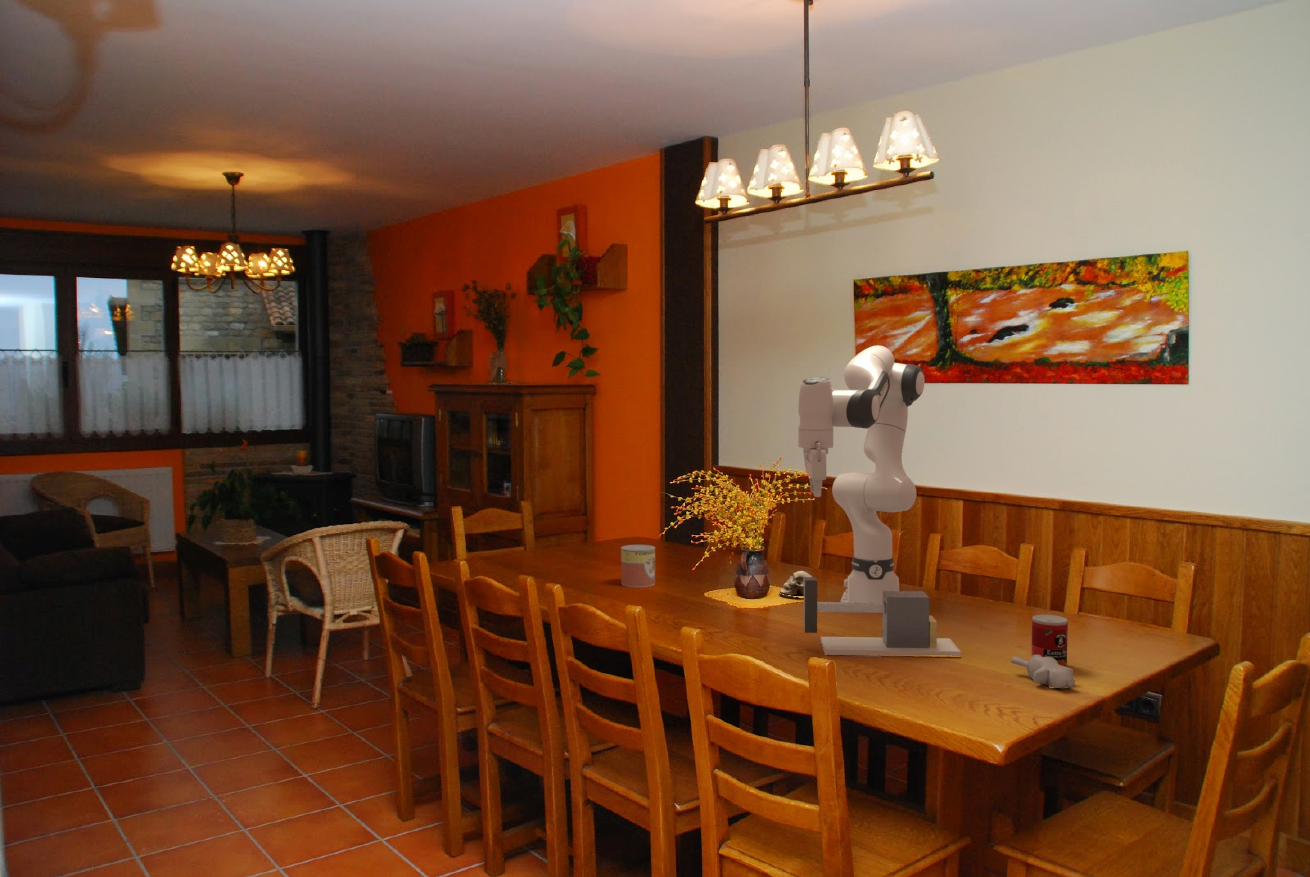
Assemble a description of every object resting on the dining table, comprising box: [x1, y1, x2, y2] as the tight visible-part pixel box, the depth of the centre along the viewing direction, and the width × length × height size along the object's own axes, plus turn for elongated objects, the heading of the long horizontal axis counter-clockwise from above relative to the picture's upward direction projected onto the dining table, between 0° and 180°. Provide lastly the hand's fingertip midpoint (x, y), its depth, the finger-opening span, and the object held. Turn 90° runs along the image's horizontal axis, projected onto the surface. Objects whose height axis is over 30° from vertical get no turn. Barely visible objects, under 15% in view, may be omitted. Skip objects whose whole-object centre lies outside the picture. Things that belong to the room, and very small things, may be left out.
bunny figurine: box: [1010, 655, 1076, 689], centre depth 217 cm, size 10×5×15 cm
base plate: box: [820, 636, 962, 657], centre depth 243 cm, size 12×32×2 cm, turn 86°
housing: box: [881, 590, 930, 648], centre depth 242 cm, size 7×10×14 cm
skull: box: [778, 570, 813, 598], centre depth 305 cm, size 12×10×10 cm
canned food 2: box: [1031, 614, 1069, 667], centre depth 229 cm, size 8×8×11 cm
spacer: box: [929, 615, 938, 648], centre depth 242 cm, size 6×2×6 cm, turn 175°
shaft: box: [803, 576, 886, 634], centre depth 243 cm, size 4×28×13 cm, turn 86°
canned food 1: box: [620, 544, 656, 588], centre depth 324 cm, size 11×11×12 cm
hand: (815, 494), depth 253 cm, fingers open, 8 cm apart
